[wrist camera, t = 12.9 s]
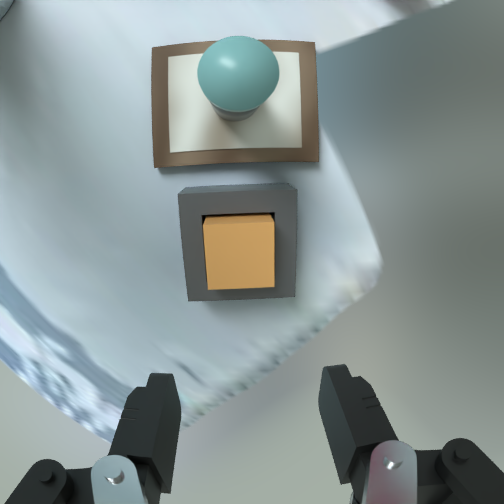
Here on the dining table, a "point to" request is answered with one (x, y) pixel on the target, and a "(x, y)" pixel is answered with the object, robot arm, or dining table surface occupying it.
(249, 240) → the button
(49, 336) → the dining table surface
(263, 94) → the marker
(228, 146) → the board
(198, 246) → the button housing
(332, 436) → the robot arm
